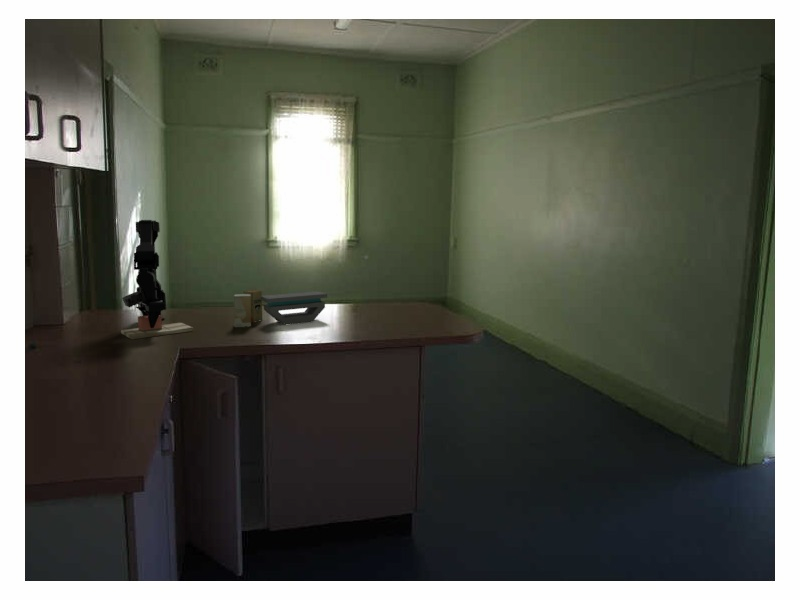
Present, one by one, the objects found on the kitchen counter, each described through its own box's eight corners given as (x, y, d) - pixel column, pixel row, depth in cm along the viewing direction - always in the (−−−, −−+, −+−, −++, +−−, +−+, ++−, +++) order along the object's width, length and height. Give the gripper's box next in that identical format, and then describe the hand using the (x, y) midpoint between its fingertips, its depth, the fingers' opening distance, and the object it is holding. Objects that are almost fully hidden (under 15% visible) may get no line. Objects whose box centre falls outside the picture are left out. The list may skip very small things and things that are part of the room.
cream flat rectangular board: (120, 333, 221) (120, 330, 221) (181, 325, 235) (180, 322, 235) (131, 339, 212) (131, 335, 212) (193, 330, 226) (193, 327, 226)
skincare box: (234, 327, 232) (233, 296, 230) (234, 325, 236) (233, 294, 234) (251, 326, 234) (250, 295, 232) (251, 324, 238) (250, 293, 236)
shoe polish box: (244, 321, 244) (243, 291, 242) (252, 319, 248) (251, 290, 246) (254, 322, 242) (253, 292, 240) (262, 320, 246) (261, 290, 244)
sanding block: (138, 330, 221) (137, 316, 220) (158, 327, 225) (157, 314, 225) (142, 331, 218) (141, 318, 217) (162, 329, 222) (161, 315, 222)
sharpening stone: (268, 326, 234) (267, 298, 232) (261, 323, 241) (260, 296, 239) (327, 320, 247) (327, 293, 245) (319, 317, 254) (319, 291, 252)
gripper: (115, 283, 221) (118, 325, 223) (132, 289, 207) (135, 334, 209) (147, 280, 228) (149, 321, 230) (165, 286, 214) (168, 329, 217)
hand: (150, 326), depth 221 cm, fingers closed on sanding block, 4 cm apart
